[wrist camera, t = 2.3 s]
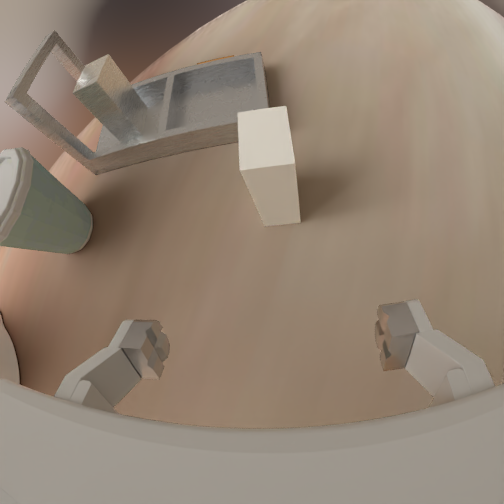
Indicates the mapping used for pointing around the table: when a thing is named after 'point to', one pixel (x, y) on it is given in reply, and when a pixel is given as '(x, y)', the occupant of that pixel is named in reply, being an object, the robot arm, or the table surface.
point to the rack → (146, 106)
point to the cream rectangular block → (269, 164)
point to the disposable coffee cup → (39, 208)
